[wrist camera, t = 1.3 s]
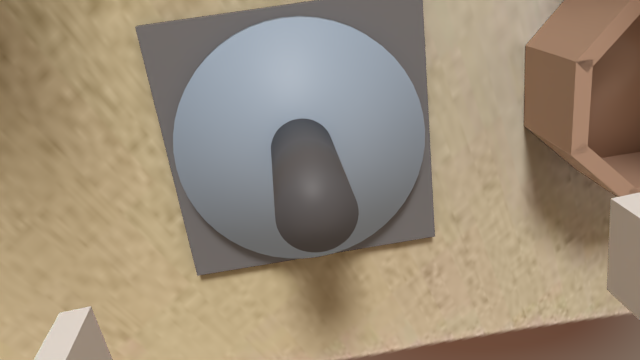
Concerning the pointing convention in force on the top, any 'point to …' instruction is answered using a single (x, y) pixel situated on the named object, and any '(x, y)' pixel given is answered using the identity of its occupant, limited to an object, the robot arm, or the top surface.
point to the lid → (298, 137)
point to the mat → (209, 31)
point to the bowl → (589, 89)
